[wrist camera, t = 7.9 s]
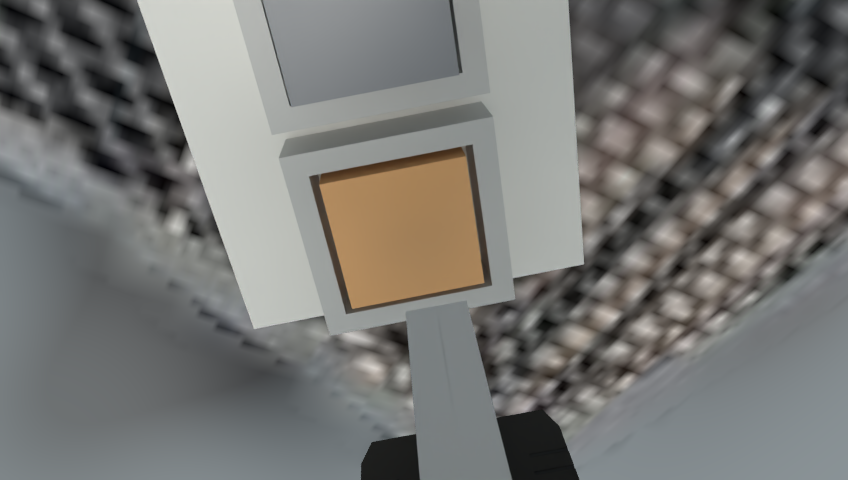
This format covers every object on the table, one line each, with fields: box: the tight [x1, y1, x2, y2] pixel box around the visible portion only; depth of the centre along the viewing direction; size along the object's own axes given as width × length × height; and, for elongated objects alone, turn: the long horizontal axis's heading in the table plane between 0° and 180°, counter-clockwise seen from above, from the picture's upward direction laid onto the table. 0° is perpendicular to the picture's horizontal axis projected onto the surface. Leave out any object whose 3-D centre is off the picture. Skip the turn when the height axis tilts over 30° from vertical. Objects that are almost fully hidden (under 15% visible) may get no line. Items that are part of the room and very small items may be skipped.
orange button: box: [319, 147, 484, 309], centre depth 23 cm, size 5×5×2 cm
